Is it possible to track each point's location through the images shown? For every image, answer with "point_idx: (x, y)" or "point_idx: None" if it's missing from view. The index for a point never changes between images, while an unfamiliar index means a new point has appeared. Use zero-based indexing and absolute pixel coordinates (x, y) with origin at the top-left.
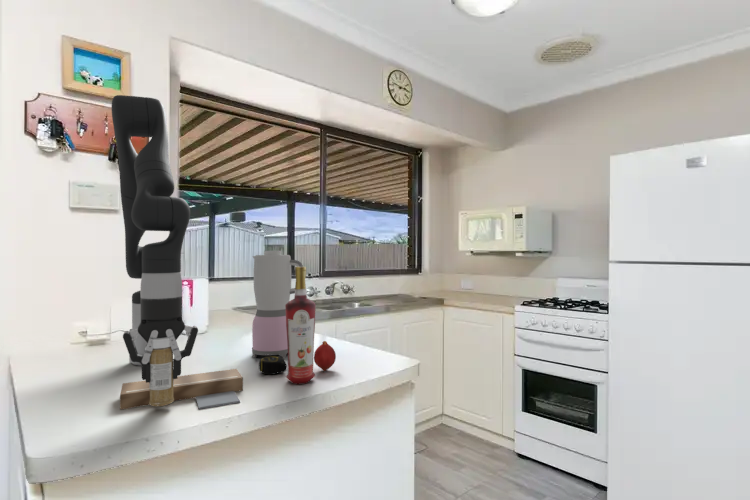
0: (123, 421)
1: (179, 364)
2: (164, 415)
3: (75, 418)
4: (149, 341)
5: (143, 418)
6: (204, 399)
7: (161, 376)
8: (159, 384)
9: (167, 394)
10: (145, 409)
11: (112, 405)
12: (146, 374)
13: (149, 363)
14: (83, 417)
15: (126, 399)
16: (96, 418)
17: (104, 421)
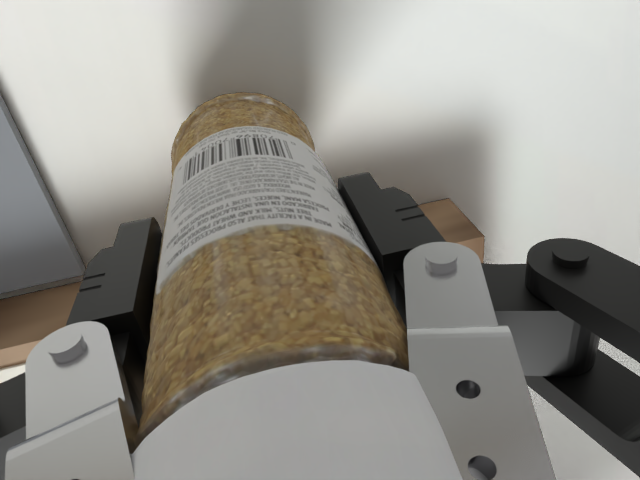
0: (418, 8)
1: (84, 310)
2: (201, 33)
3: (622, 135)
4: (529, 474)
5: (317, 21)
6: (3, 217)
7: (241, 167)
8: (254, 140)
9: (196, 131)
10: (330, 169)
11: (483, 260)
12: (380, 196)
13: (386, 276)
14: (592, 138)
15: (440, 226)
16: (542, 105)
17: (508, 45)
